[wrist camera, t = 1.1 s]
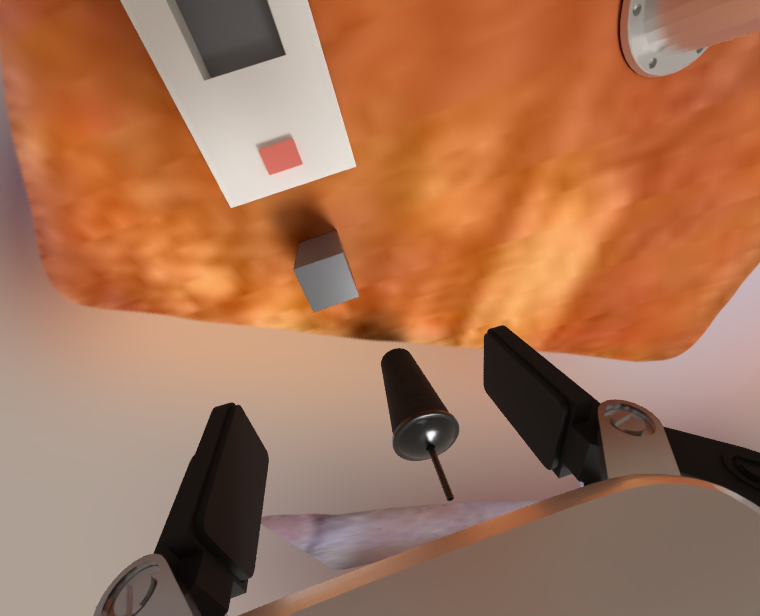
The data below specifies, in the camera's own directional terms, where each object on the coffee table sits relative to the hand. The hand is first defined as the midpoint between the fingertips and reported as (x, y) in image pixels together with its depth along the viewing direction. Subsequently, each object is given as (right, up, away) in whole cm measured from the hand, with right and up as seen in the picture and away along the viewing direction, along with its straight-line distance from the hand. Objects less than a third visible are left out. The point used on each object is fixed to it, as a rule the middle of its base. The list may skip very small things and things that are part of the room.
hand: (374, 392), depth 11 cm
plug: (-6, +9, +23) cm, 25 cm away
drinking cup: (+3, -5, +32) cm, 33 cm away
